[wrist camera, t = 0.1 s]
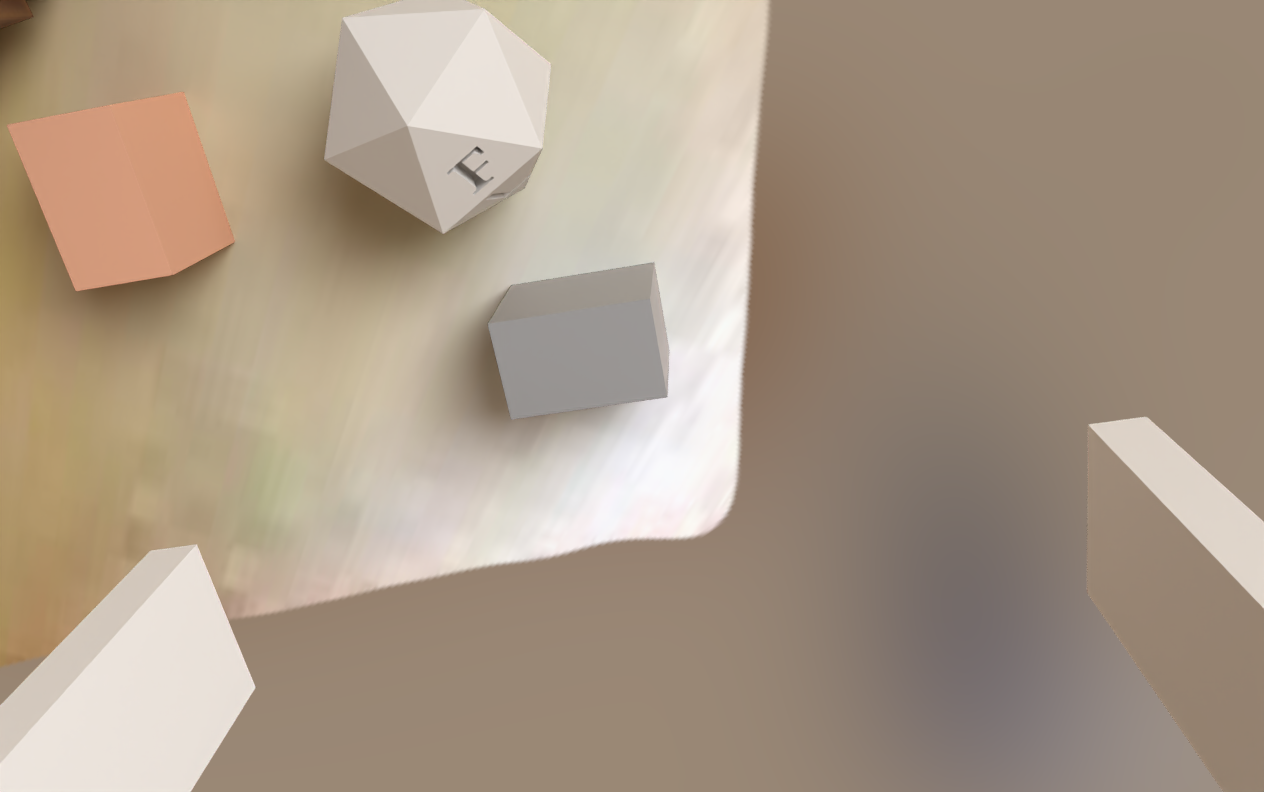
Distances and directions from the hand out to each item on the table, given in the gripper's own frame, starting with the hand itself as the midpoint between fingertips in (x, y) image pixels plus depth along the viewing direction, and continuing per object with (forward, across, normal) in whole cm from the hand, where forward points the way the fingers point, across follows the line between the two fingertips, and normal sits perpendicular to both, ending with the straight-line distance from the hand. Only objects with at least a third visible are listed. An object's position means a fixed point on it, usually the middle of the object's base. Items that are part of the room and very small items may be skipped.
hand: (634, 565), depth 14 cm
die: (+32, -8, +5) cm, 33 cm away
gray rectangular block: (+32, -5, -6) cm, 33 cm away
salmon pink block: (+32, -23, +4) cm, 40 cm away
